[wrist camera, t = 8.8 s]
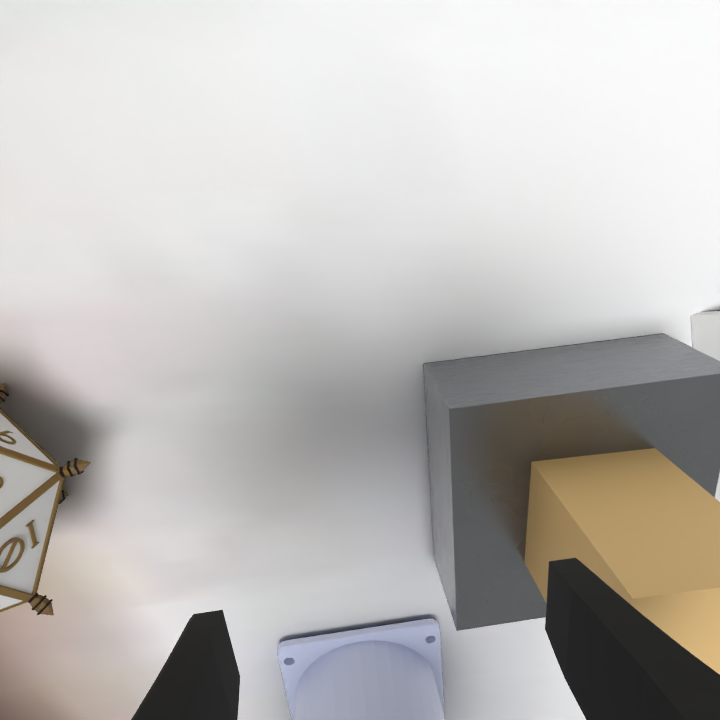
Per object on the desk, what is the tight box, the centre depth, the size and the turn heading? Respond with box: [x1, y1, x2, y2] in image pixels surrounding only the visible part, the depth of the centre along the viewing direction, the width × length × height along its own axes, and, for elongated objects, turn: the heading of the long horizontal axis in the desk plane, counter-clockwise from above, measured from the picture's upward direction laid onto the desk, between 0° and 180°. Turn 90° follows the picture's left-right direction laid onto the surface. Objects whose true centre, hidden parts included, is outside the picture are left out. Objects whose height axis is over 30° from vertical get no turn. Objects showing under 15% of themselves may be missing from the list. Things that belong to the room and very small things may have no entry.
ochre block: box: [525, 448, 720, 674], centre depth 16 cm, size 4×4×6 cm
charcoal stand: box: [424, 334, 720, 631], centre depth 21 cm, size 10×10×4 cm
